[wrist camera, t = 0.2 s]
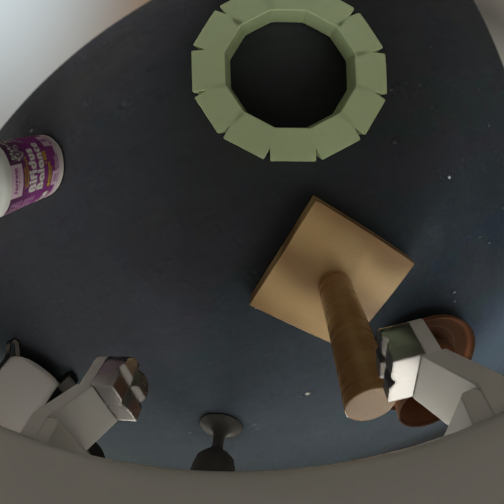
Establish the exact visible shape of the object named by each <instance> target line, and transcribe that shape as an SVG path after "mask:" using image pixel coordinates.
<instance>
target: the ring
mask: <svg viewBox="0 0 504 504" xmlns="http://www.w3.org/2000/svg"><path fill="white" fill-rule="evenodd" d="M220 8H221V10H222V12H223V13H221V12H219V11H216V10H215V11H214V12H213V14H212V15H211V17H210V18H209V20H208V21H207V23H206V25H205V26H204V28H203V29H202V31H201V33H200V34H199V36H198V38H197V39H196V41H195V43H194V44H193V45H194V46H195V47H196V48H197V49H198V50H194V51H192V52H191V56H192V91H193V92H195V93H197V94H199V95H198V96H196V97H195V100H196V101H197V103H198V104H199V106H200V107H201V109H202V110H203V112H204V113H205V115H206V116H207V118H208V119H209V121H210V122H211V124H212V125H213V127H214V128H215V130H216V131H217V133H225V132H226V134H225V136H224V139H225V140H227V141H229V142H231V143H233V144H235V145H237V146H239V147H241V148H243V149H245V150H247V151H249V152H251V153H252V154H254V155H256V156H258V157H260V158H262V159H264V158H265V156H266V155H267V153H268V151H269V149H270V161H316V155H317V156H318V157H319V158H321V159H322V160H323V159H325V158H327V157H329V156H331V155H333V154H335V153H336V152H338V151H340V150H342V149H344V148H346V147H348V146H350V145H351V144H353V143H355V142H357V141H359V140H360V137H359V135H358V134H363V135H365V134H366V133H367V131H368V130H369V128H370V126H371V124H372V123H373V121H374V119H375V118H376V116H377V114H378V112H379V111H380V109H381V107H382V106H383V104H384V102H385V99H384V98H382V97H381V96H380V95H384V94H387V78H386V59H385V54H384V53H378V52H377V51H379V50H380V49H382V48H383V47H382V45H381V43H380V42H379V40H378V39H377V37H376V36H375V34H374V33H373V31H372V30H371V28H370V27H369V25H368V24H367V22H366V21H365V19H364V18H363V17H362V15H361V14H360V13H357V14H354V15H352V16H350V15H351V13H352V12H353V10H354V8H353V7H352V6H350V5H348V4H346V3H345V2H343V1H341V0H230V1H228V2H226V3H224V4H222V5H221V6H220ZM271 22H301V23H304V24H306V25H308V26H310V27H312V28H314V29H316V30H318V31H320V32H322V33H323V34H325V35H327V36H329V37H330V38H331V40H332V41H333V43H334V44H335V46H336V47H337V49H338V50H339V52H340V53H341V55H342V56H343V58H344V59H345V61H346V75H347V90H346V92H345V94H344V96H343V97H342V99H341V101H340V102H339V104H338V106H337V107H336V109H335V111H334V112H333V114H331V115H330V116H328V117H326V118H324V119H322V120H320V121H318V122H316V123H314V124H312V125H311V126H309V127H307V128H275V127H273V126H271V125H269V124H268V123H266V122H264V121H262V120H260V119H258V118H256V117H254V116H252V115H250V114H248V113H247V112H246V110H245V109H244V107H243V106H242V104H241V103H240V101H239V100H238V98H237V97H236V95H235V94H234V92H233V91H232V89H231V70H230V60H231V58H232V56H233V55H234V53H235V51H236V50H237V48H238V47H239V45H240V43H241V42H242V40H243V39H244V37H245V36H246V35H248V34H249V33H251V32H253V31H255V30H257V29H259V28H261V27H263V26H265V25H267V24H269V23H271Z"/></svg>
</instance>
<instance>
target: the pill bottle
mask: <svg viewBox="0 0 504 504" xmlns="http://www.w3.org/2000/svg"><path fill="white" fill-rule="evenodd" d="M63 172H64V163H63V154H62V151H61V148H60V147H59V145H58V143H57V142H56V141H55V140H54V139H52V138H51V137H49V136H47V135H34V136H27V137H21V138H15V139H9V140H4V141H0V217H2V216H5V215H6V214H9V213H11V212H13V211H15V210H17V209H20V208H22V207H24V206H26V205H28V204H31V203H33V202H35V201H38V200H40V199H42V198H45V197H47V196H49V195H51V194H52V193H53V192H54V191H56V189H57V188H58V187H59V185H60V183H61V180H62V177H63Z"/></svg>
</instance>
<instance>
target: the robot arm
mask: <svg viewBox="0 0 504 504" xmlns="http://www.w3.org/2000/svg"><path fill="white" fill-rule="evenodd" d="M376 340H377V343H378V345H379V346H378V347H377V349H376V366H377V371H378V374H379V377H380V378H382V379H383V389H384V392H385V395H386V398H387V401H388V402H392V401H397V400H401V399H405V398H409V397H413V398H414V399H415V400H416V401H418V402H419V403H420V404H421V405H423V406H424V407H425V408H427V409H428V410H429V411H430V412H432V413H433V414H434V415H436V416H437V417H438V418H439V419H441V420H442V421H443V422H444V423H446V424H447V425H448V428H447V430H446V432H445V435H444V436H443V437H440V438H437V439H434V440H431V441H428V442H425V443H421V444H418V445H415V446H411V447H408V448H404V449H401V450H397V451H393V452H389V453H385V454H381V455H377V456H372V457H367V458H363V459H358V460H352V461H347V462H341V463H335V464H329V465H322V466H314V467H305V468H296V469H284V470H269V471H199V470H184V469H173V468H163V467H155V466H147V465H140V464H134V463H128V462H122V461H117V460H112V459H107V458H102V457H97V456H93V455H90V454H89V453H88V452H87V450H88V449H89V448H90V447H91V446H92V445H93V444H94V443H95V442H96V441H97V440H98V439H99V438H100V437H101V436H102V435H103V434H104V433H105V432H107V431H108V430H109V429H110V428H111V427H112V426H113V425H114V424H115V423H116V422H117V420H126V421H137V419H138V416H139V414H140V411H141V409H142V406H141V404H140V403H141V402H142V401H143V400H145V399H146V397H147V394H148V382H147V379H146V377H145V375H144V374H143V373H142V372H141V371H139V370H138V367H139V364H138V362H137V361H136V359H135V358H133V357H112V356H110V357H103V356H100V357H97V358H96V359H95V361H94V362H93V364H92V365H91V367H90V368H89V370H88V371H87V373H86V374H85V376H84V378H83V379H82V381H81V382H80V384H79V385H77V384H76V385H74V386H73V387H71V388H70V389H68V390H67V391H65V392H64V393H62V394H61V395H59V396H58V397H56V398H55V399H53V400H52V401H50V402H49V403H47V404H45V405H44V406H42V407H41V408H39V409H38V410H36V411H35V412H33V414H32V415H31V417H30V418H29V420H28V422H27V423H26V425H25V426H24V428H23V430H22V431H21V433H18V432H15V431H13V430H10V429H8V428H5V427H3V426H1V425H0V504H504V376H503V375H501V374H499V373H497V372H495V371H492V370H490V369H488V368H486V367H484V366H482V365H480V364H478V363H476V362H473V361H471V360H469V359H467V358H465V357H463V356H461V355H459V354H457V353H454V352H452V351H450V350H448V349H446V348H445V349H441V347H440V346H439V344H438V342H437V341H436V339H435V337H434V336H433V334H432V333H431V331H430V329H429V328H428V326H427V325H426V323H425V322H424V320H423V319H421V318H420V319H416V320H413V321H409V322H407V323H402V324H398V325H393V326H389V327H384V328H380V329H377V333H376Z"/></svg>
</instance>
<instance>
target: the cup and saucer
mask: <svg viewBox="0 0 504 504" xmlns="http://www.w3.org/2000/svg"><path fill="white" fill-rule="evenodd" d="M422 319H423V320H424V322H425V323H426V325H427V326H428V328H429V329H430V331H431V333H432V334H433V336H434V337H435V339H436V341H437V342H438V344H439V346H440V347H441V349H445V348H446V349H448V350H450V351H452V352H454V353H457V354H459V355H461V356H463V357H465V358H467V359H469V360H471V358H472V356H473V352H474V348H475V336H474V333H473V330H472V328H471V327H470V326H469V324H468V323H466V322H465V321H464V320H462V319H461V318H459V317H456V316H452V315H434V316H429V317H425V318H422ZM391 410H396V411H397V415H398V418H399V420H400V422H401V423H402V424H403V425H405V426H409V427H421V426H426V425H429V424H432V423H435V422H437V421H439V420H441V419H439V418H438V417H437V416H436V415H434V414H433V413H432V412H430V411H429V410H428V409H427V408H425V407H424V406H423V405H421V404H420V403H419V402H418V401H416V400H415V399H414V398H413V397H409V398H405V399H401V400H397V401H396V402H395V404H394V406H393V407H392V408H391Z"/></svg>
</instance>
